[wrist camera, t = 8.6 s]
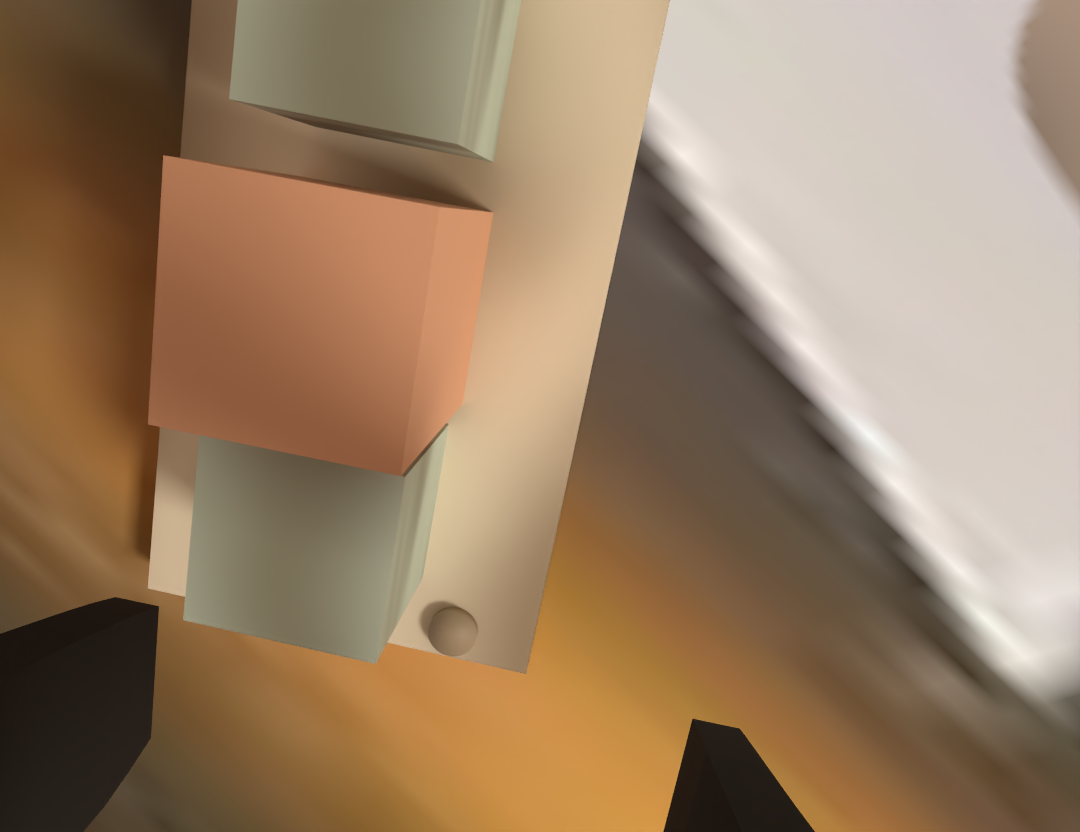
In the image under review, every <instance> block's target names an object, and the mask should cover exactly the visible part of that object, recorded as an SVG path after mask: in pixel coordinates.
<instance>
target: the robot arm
mask: <svg viewBox="0 0 1080 832" xmlns="http://www.w3.org/2000/svg"><path fill="white" fill-rule="evenodd" d="M158 611H159V606H154V605H150V604H145V603H140V602H135V601H131V600H126V599H121V598H116V597H115V598H111V599H107V600H103V601H99V602H95V603H92V604H88V605H85V606H82V607H79V608H75V609H72V610H69V611H66V612H63V613H60V614H57V615H54V616H51V617H48V618H45V619H42V620H39V621H36V622H34V623H31V624H28V625H25V626H22V627H19V628H16V629H13V630H10V631H7V632H4V633H1V634H0V832H83V831H84V830H85V829H86V828H87V826H88V825H89V824H90V823H91V822H92V821H93V819H94V818H95V817H96V816H97V815H98V813H99V812H100V811H101V810H102V809H103V808H104V806H105V805H106V803H107V802H108V801H109V799H110V798H111V796H112V795H113V793H114V792H115V791H116V789H117V788H118V786H119V785H120V783H121V782H122V781H123V779H124V778H125V776H126V775H127V773H128V772H129V770H130V769H131V767H132V766H133V764H134V763H135V761H136V760H137V758H138V757H139V755H140V754H141V752H142V751H143V749H144V747H145V746H146V744H147V743H148V741H149V740H150V738H151V726H152V709H153V693H154V677H155V660H156V644H157V628H158ZM664 832H815V831H814V830H813V829H812V827H811V826H810V825H809V823H808V822H807V821H806V819H805V818H804V817H803V815H802V814H801V813H800V811H799V810H798V809H797V807H796V806H795V805H794V803H793V802H792V800H791V799H790V798H789V796H788V795H787V794H786V792H785V791H784V789H783V788H782V787H781V785H780V784H779V782H778V781H777V780H776V778H775V777H774V775H773V774H772V773H771V771H770V770H769V768H768V767H767V766H766V764H765V763H764V761H763V760H762V759H761V757H760V756H759V754H758V753H757V752H756V750H755V749H754V747H753V746H752V745H751V743H750V742H749V740H748V739H747V738H746V736H745V735H744V734H743V732H742V731H741V730H740V729H739V728H734V727H729V726H724V725H720V724H715V723H710V722H705V721H701V720H696V719H692V723H691V727H690V731H689V735H688V739H687V743H686V747H685V751H684V754H683V758H682V762H681V766H680V770H679V774H678V778H677V782H676V786H675V789H674V793H673V797H672V801H671V805H670V809H669V813H668V817H667V821H666V824H665V828H664Z"/></svg>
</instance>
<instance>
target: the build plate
mask: <svg viewBox="0 0 1080 832" xmlns="http://www.w3.org/2000/svg"><path fill="white" fill-rule="evenodd" d="M669 2H670V0H192V6H191V19H190V33H189V46H188V59H187V73H186V86H185V99H184V113H183V126H182V139H181V153H180V158H185V159H191V160H198V161H204V162H211V163H217V164H224V165H230V166H237V167H244V168H250V169H257V170H263V171H270V172H276V173H283V174H289V175H296V176H302V177H307V178H312V179H318V180H323V181H328V182H334V183H339V184H344V185H350V186H355V187H360V188H366V189H371V190H376V191H382V192H387V193H392V194H398V195H403V196H408V197H414V198H419V199H424V200H430V201H435V202H440V203H446V204H451V205H456V206H462V207H467V208H472V209H478V210H483V211H488V212H493V218H492V224H491V230H490V236H489V243H488V249H487V255H486V261H485V268H484V274H483V280H482V286H481V292H480V299H479V305H478V311H477V317H476V324H475V330H474V336H473V342H472V348H471V355H470V361H469V367H468V373H467V380H466V386H465V392H464V398H463V404H462V405H461V406H460V407H459V409H458V410H457V411H456V412H455V413H454V414H453V416H452V417H451V418H450V419H449V420H448V421H447V423H446V424H445V425H444V426H443V427H442V428H441V430H440V431H439V432H438V433H437V434H436V435H435V437H434V438H433V439H432V440H431V441H430V442H429V444H428V445H427V446H426V447H425V448H424V449H423V451H422V452H421V453H420V454H419V455H418V456H417V458H416V459H415V460H414V461H413V462H412V464H411V465H410V466H409V467H408V468H407V469H406V471H405V472H404V473H403V474H402V475H401V476H398V475H393V474H388V473H383V472H378V471H373V470H368V469H363V468H358V467H354V466H349V465H344V464H339V463H334V462H329V461H324V460H319V459H314V458H310V457H305V456H300V455H295V454H290V453H285V452H280V451H275V450H270V449H266V448H261V447H256V446H251V445H246V444H241V443H236V442H231V441H226V440H222V439H217V438H212V437H207V436H202V435H197V434H192V433H187V432H182V431H178V430H173V429H168V428H163V427H160V433H159V447H158V460H157V473H156V487H155V500H154V514H153V527H152V540H151V554H150V567H149V580H148V588H149V589H153V590H157V591H162V592H166V593H171V594H175V595H180V596H184V597H185V605H184V617H183V620H185V621H190V622H194V623H199V624H203V625H207V626H212V627H216V628H220V629H225V630H229V631H234V632H238V633H242V634H247V635H251V636H256V637H260V638H264V639H269V640H273V641H278V642H282V643H286V644H291V645H295V646H300V647H304V648H308V649H313V650H317V651H321V652H326V653H330V654H335V655H339V656H343V657H348V658H352V659H357V660H361V661H365V662H370V663H374V664H376V662H377V660H378V658H379V657H380V655H381V653H382V651H383V649H384V647H385V646H386V644H387V643H392V644H396V645H400V646H405V647H409V648H414V649H418V650H423V651H427V652H431V653H436V654H440V655H445V656H449V657H453V658H458V659H462V660H467V661H471V662H476V663H480V664H484V665H489V666H493V667H498V668H502V669H506V670H511V671H515V672H520V673H524V674H526V672H527V667H528V662H529V657H530V653H531V648H532V643H533V639H534V634H535V629H536V625H537V620H538V615H539V611H540V606H541V601H542V597H543V592H544V587H545V583H546V578H547V573H548V569H549V564H550V559H551V555H552V550H553V545H554V540H555V536H556V531H557V526H558V522H559V517H560V512H561V508H562V503H563V498H564V494H565V489H566V484H567V480H568V475H569V470H570V466H571V461H572V456H573V452H574V447H575V442H576V438H577V433H578V428H579V423H580V419H581V414H582V409H583V405H584V400H585V395H586V391H587V386H588V381H589V377H590V372H591V367H592V363H593V358H594V353H595V349H596V344H597V339H598V335H599V330H600V325H601V321H602V316H603V311H604V306H605V302H606V297H607V292H608V288H609V283H610V278H611V274H612V269H613V264H614V260H615V255H616V250H617V246H618V241H619V236H620V232H621V227H622V222H623V218H624V213H625V208H626V204H627V199H628V194H629V189H630V185H631V180H632V175H633V171H634V166H635V161H636V157H637V152H638V147H639V143H640V138H641V133H642V129H643V124H644V119H645V115H646V110H647V105H648V101H649V96H650V91H651V87H652V82H653V77H654V72H655V68H656V63H657V58H658V54H659V49H660V44H661V40H662V35H663V30H664V26H665V21H666V16H667V12H668V7H669Z"/></svg>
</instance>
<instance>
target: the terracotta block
mask: <svg viewBox="0 0 1080 832" xmlns="http://www.w3.org/2000/svg"><path fill="white" fill-rule="evenodd" d="M492 218H493V212H488V211H483V210H478V209H472V208H467V207H462V206H456V205H451V204H446V203H440V202H435V201H430V200H424V199H419V198H414V197H408V196H403V195H398V194H392V193H387V192H382V191H376V190H371V189H366V188H360V187H355V186H350V185H344V184H339V183H334V182H328V181H323V180H318V179H312V178H307V177H302V176H296V175H289V174H283V173H276V172H270V171H263V170H257V169H250V168H244V167H237V166H230V165H224V164H217V163H211V162H204V161H198V160H191V159H185V158H178V157H172V156H165V155H163V171H162V188H161V205H160V222H159V240H158V257H157V274H156V291H155V309H154V326H153V343H152V360H151V378H150V395H149V412H148V425H153V426H158V427H163V428H168V429H173V430H178V431H182V432H187V433H192V434H197V435H202V436H207V437H212V438H217V439H222V440H226V441H231V442H236V443H241V444H246V445H251V446H256V447H261V448H266V449H270V450H275V451H280V452H285V453H290V454H295V455H300V456H305V457H310V458H314V459H319V460H324V461H329V462H334V463H339V464H344V465H349V466H354V467H358V468H363V469H368V470H373V471H378V472H383V473H388V474H393V475H398V476H401V475H402V474H403V473H404V472H405V471H406V469H407V468H408V467H409V466H410V465H411V464H412V462H413V461H414V460H415V459H416V458H417V456H418V455H419V454H420V453H421V452H422V451H423V449H424V448H425V447H426V446H427V445H428V444H429V442H430V441H431V440H432V439H433V438H434V437H435V435H436V434H437V433H438V432H439V431H440V430H441V428H442V427H443V426H444V425H445V424H446V423H447V421H448V420H449V419H450V418H451V417H452V416H453V414H454V413H455V412H456V411H457V410H458V409H459V407H460V406H461V405H462V404H463V398H464V392H465V386H466V380H467V373H468V367H469V361H470V355H471V348H472V342H473V336H474V330H475V324H476V317H477V311H478V305H479V299H480V292H481V286H482V280H483V274H484V268H485V261H486V255H487V249H488V243H489V236H490V230H491V224H492Z"/></svg>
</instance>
